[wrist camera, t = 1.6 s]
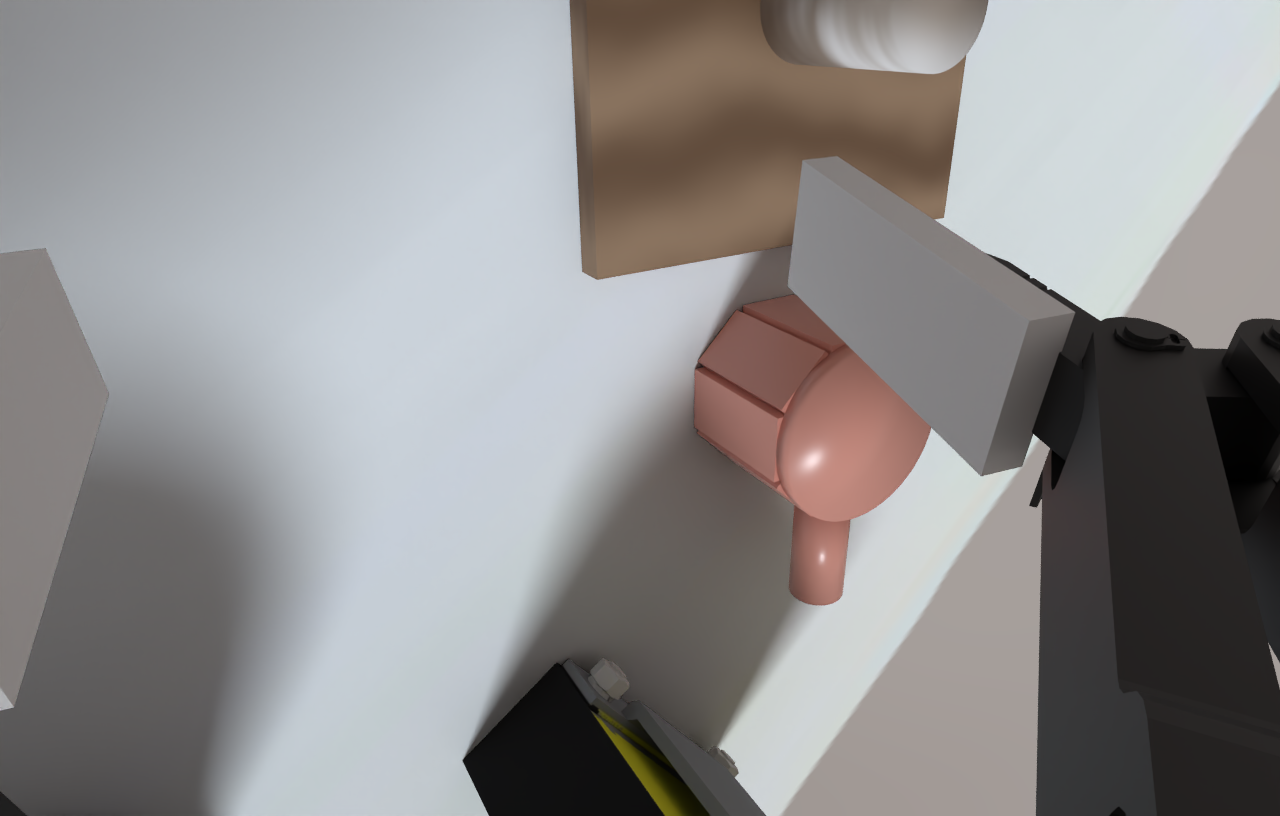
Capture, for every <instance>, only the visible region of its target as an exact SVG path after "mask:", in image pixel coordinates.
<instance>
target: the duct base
mask: <svg viewBox="0 0 1280 816" xmlns="http://www.w3.org/2000/svg"><path fill="white" fill-rule="evenodd" d="M987 5H988V0H570V17H571V39H572V60H573V81H574V103H575V124H576V146H577V167H578V189H579V210H580V232H581V253H582V272H584V273H586V274H587V275H589V276H591V277H593V278H595V279H597V280H598V279H604V278H610V277H615V276H621V275H626V274H632V273H638V272H643V271H649V270H654V269H660V268H665V267H671V266H677V265H682V264H688V263H693V262H699V261H705V260H710V259H716V258H721V257H727V256H733V255H738V254H744V253H749V252H755V251H761V250H766V249H772V248H777V247H783V246H788V245H792V244H793V236H794V227H795V219H796V211H797V202H798V194H799V185H800V177H801V169H802V160H809V159H817V158H826V157H834V156H838V157H839V158H841V159H842V160H844V161H845V162H847V163H848V164H850V165H851V166H853V167H854V168H856V169H857V170H859V171H861V172H862V173H864V174H865V175H867V176H868V177H870V178H871V179H873V180H874V181H876V182H877V183H879V184H880V185H882V186H883V187H885V188H886V189H888V190H890V191H891V192H893V193H894V194H896V195H897V196H899V197H900V198H902V199H903V200H905V201H906V202H908V203H909V204H911V205H912V206H914V207H915V208H917V209H919V210H920V211H922V212H923V213H925V214H926V215H928V216H929V217H931V218H932V219H939V218H944V213H945V206H946V198H947V191H948V184H949V176H950V169H951V162H952V155H953V147H954V140H955V133H956V125H957V118H958V111H959V103H960V96H961V89H962V82H963V74H964V67H965V60H966V54H967V53H968V52H969V50H970V49H971V47H972V46H973V44H974V42H975V40H976V39H977V37H978V34H979V32H980V30H981V27H982V25H983V22H984V18H985V15H986V11H987Z"/></svg>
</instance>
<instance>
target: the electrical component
mask: <svg viewBox="0 0 1280 816" xmlns="http://www.w3.org/2000/svg"><path fill="white" fill-rule="evenodd" d="M626 677H627V676H626V675H625V673H624V672H623V671H622V670H621V669H620V668H619V667H618V666H617V665H616V664H615V663H614V662H612V661H611V662H610V661H609V660H606V659H604V658H602V659H601V660H600V661H599V662H598V663H597V664H596V665H595V666H594V667H593V668H592V669H591V675H590V674H588V673H587V672H586V671H584V670H583V669H582V668H580V667H579V666H578V665H576V664H575V663H574V662H572V661H571V660H570V659H568V660H567V661H566V662H565V663H564V664H563V665H562V666H561V665H559V664H558V663H556V664H555V665H554V666H553V667H552V668H551V669H550V670H549V671H548V672H547V673H546V674H545V675H544V676H543V677H542V678H541V679H540V680H539V681H538V683H537V684H536V685H535V686H534V687H533V688H532V689H531V690H530V691H529V692H528V693H527V694H526V695H525V696H524V697H523V698H522V699H521V700H520V701H519V702H518V703H517V704H516V705H515V706H514V708H513V709H512V710H511V711H510V712H509V713H508V714H507V715H506V716H505V717H504V718H503V719H502V720H501V721H500V722H499V723H498V724H497V725H496V726H495V727H494V728H493V729H492V730H491V731H490V733H489V734H488V735H487V736H486V737H485V738H484V739H483V740H482V741H481V742H480V743H479V744H478V745H477V746H476V747H475V748H474V749H473V750H472V751H471V752H470V753H469V754H468V755H467V757H466V758H465V759H464V760H463V763H464V765H465V767H466V769H467V771H468V773H469V775H470V777H471V779H472V781H473V783H474V786H475V788H476V790H477V792H478V794H479V796H480V798H481V800H482V802H483V804H484V806H485V808H486V810H487V813H488V815H489V816H766V815H765V814H764V813H763V811H762V810H761V809H760V808H759V807H758V805H757V804H756V803H755V802H754V800H753V799H752V798H751V797H750V796H749V794H748V793H747V792H746V791H745V790H744V788H743V787H742V786H741V785H740V784H739V782H738V781H737V780H736V779H735V778H734V777H735V776H736V775H737V774H738V769H737V767H736V766H735V765H734V764H735V762H734V761H733V760H732V758H731V757H730V756H729V755H728V754H727V753H726V752H725V751H724V750H720V749H719V748H717V747H713V748H712V749H711V750H710V751H709V752H708V753H707V752H705V751H704V750H703V749H701V748H700V747H699V746H697V745H696V744H695V743H694V742H692V741H691V740H690V739H688V738H687V737H686V736H685V735H683V734H682V733H681V732H679V731H678V730H677V729H676V728H674V727H673V726H672V725H670V724H669V723H668V722H666V721H665V720H664V719H663V718H661V717H660V716H659V715H657V714H656V713H655V712H654V711H652V710H651V709H650V708H648V707H647V706H646V705H645V704H643V703H642V702H641V701H634V702H630V703H629V704H628V703H626V702H625V701H624V700H622V699H621V698H620V697H621V696H622V695H623V694H624V693H625V692H626V691H627V690H628V689H629V688H630V686H629V682H628V680H627V679H626Z"/></svg>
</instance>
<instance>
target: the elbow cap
mask: <svg viewBox="0 0 1280 816" xmlns="http://www.w3.org/2000/svg"><path fill="white" fill-rule="evenodd" d="M698 362H699V363H700V364H701V365H703V366H704V367H702V368H698V369H695V394H694V427H695V428H696V429H698V430H699V431H698V432H697V434H699V435H700V436H701V437H702V438H704V439H705V440H706V441H708V442H709V443H710V444H711V445H713V446H714V447H715V448H716V449H718V450H719V451H720V452H721V453H723V454H724V455H725V456H727V457H728V458H729V459H730V460H732V461H733V462H734V463H736V464H737V465H739V466H740V467H741V468H743V469H744V470H746V471H747V472H749V473H750V474H751V475H753V476H754V477H756V478H757V479H758V480H760V481H761V482H763V483H764V484H765V485H767V486H768V487H770V488H771V489H773V490H774V491H775V492H777V493H778V494H780V495H781V496H782V497H784V498H785V499H787V500H788V501H789V502H791V503H792V504H794V518H793V532H792V546H791V560H790V574H789V590H790V592H791V594H792V595H793V596H794V597H795V598H797V599H798V600H800V601H802V602H804V603H807V604H812V605H828V604H832V603H834V602H836V601H838V600H839V599H840V598H841V596H842V593H843V585H844V575H845V566H846V556H847V547H848V537H849V528H850V519H853V518H856V517H858V516H861V515H863V514H865V513H867V512H869V511H870V510H872V509H874V508H875V507H877V506H878V505H879V504H881V503H882V502H883V501H885V500H886V499H887V498H888V497H889V496H890V495H891V494H892V493H893V492H894V491H895V490H896V489H897V488H898V487H899V486H900V485H901V484H902V482H903V481H904V480H905V479H906V478H907V476H908V475H909V473H910V472H911V470H912V469H913V467H914V466H915V464H916V462H917V461H918V459H919V457H920V455H921V453H922V451H923V449H924V447H925V444H926V442H927V439H928V436H929V433H930V430H931V427H930V426H929V425H928V424H927V423H926V422H925V421H924V420H923V419H922V418H921V417H920V416H919V415H918V414H917V413H916V412H915V411H914V410H913V409H912V408H911V407H910V406H909V405H908V404H907V403H906V402H905V401H904V400H903V399H902V398H901V397H900V396H899V395H898V394H897V393H896V392H895V391H894V390H893V389H892V388H891V387H890V386H889V385H888V384H887V383H886V382H885V381H884V380H882V379H881V378H880V377H879V376H878V375H877V374H876V373H875V372H874V371H873V370H872V369H871V368H870V367H869V366H868V365H867V364H866V363H865V362H864V361H863V360H862V359H861V358H860V357H859V356H858V355H857V354H856V353H855V352H854V351H853V350H852V349H851V348H850V347H849V346H848V345H847V344H846V343H845V342H844V341H843V340H842V339H841V338H840V337H839V336H838V335H837V334H836V333H835V332H834V331H833V330H832V329H831V328H830V327H829V326H828V325H826V324H825V323H824V322H823V321H822V320H821V319H820V318H819V317H818V316H817V315H816V314H815V313H814V312H813V311H812V310H811V309H810V308H809V307H808V306H807V305H806V304H805V303H804V302H803V301H802V300H801V299H800V298H799V297H798V296H796V295H794V294H793V295H789V296H784V297H779V298H775V299H770V300H765V301H760V302H756V303H751V304H746V305H743V313H742V312H740V311H738V310H736V311H735V312H734V314H733V315H732V316H731V318H730V319H729V320H728V322H727V323H726V324H725V326H724V327H723V328H722V330H721V331H720V332H719V334H718V335H717V336H716V338H715V339H714V340H713V342H712V343H711V344H710V345H709V347H708V348H707V349H706V351H705V352H704V353H703V355H702V356H701V357H700V359H699V360H698Z"/></svg>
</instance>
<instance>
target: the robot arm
mask: <svg viewBox="0 0 1280 816" xmlns="http://www.w3.org/2000/svg"><path fill="white" fill-rule="evenodd" d="M788 287H789V288H790V289H791V290H792V291H793V292H794V293H795V294H796V295H797V296H798V297H799V298H800V299H801V300H802V301H803V302H804V303H805V304H806V305H807V306H808V307H809V308H810V309H811V310H812V311H813V312H814V313H815V314H816V315H817V316H818V317H819V318H820V319H821V320H822V321H823V322H824V323H825V324H826V325H828V326H829V327H830V328H831V329H832V330H833V331H834V332H835V333H836V334H837V335H838V336H839V337H840V338H841V339H842V340H843V341H844V342H845V343H846V344H847V345H848V346H849V347H850V348H851V349H852V350H853V351H854V352H855V353H856V354H857V355H858V356H859V357H860V358H861V359H862V360H863V361H864V362H865V363H866V364H867V365H868V366H869V367H870V368H871V369H872V370H873V371H874V372H875V373H876V374H877V375H878V376H879V377H880V378H881V379H882V380H884V381H885V382H886V383H887V384H888V385H889V386H890V387H891V388H892V389H893V390H894V391H895V392H896V393H897V394H898V395H899V396H900V397H901V398H902V399H903V400H904V401H905V402H906V403H907V404H908V405H909V406H910V407H911V408H912V409H913V410H914V411H915V412H916V413H917V414H918V415H919V416H920V417H921V418H922V419H923V420H924V421H925V422H926V423H927V424H928V425H929V426H930V427H931V428H932V429H933V430H934V431H935V432H936V433H937V434H938V435H940V436H941V437H942V438H943V439H944V440H945V441H946V442H947V443H948V444H949V445H950V446H951V447H952V448H953V449H954V450H955V451H956V452H957V453H958V454H959V455H960V456H961V457H962V458H963V459H964V460H965V461H966V462H967V463H968V464H969V465H970V466H971V467H972V468H973V469H974V470H975V471H976V472H977V473H978V474H979V475H980V476H984V475H988V474H992V473H996V472H1000V471H1005V470H1009V469H1013V468H1017V467H1021V466H1022V465H1023V462H1024V459H1025V456H1026V453H1027V450H1028V448H1029V445H1030V442H1031V439H1032V436H1033V434H1034V435H1035V436H1037V437H1038V438H1039V439H1040V440H1042V442H1044V443H1045V444H1046V445H1047V446H1048V447H1049V448H1050V451H1049V453H1048V456H1047V459H1046V461H1045V464H1044V467H1043V470H1042V472H1041V475H1040V478H1039V481H1038V484H1037V486H1036V489H1035V492H1034V494H1033V497H1032V500H1031V502H1030V506H1032V507H1037V506H1038V504H1039V502H1040V500H1041V499H1042V536H1041V587H1040V591H1041V592H1040V637H1039V638H1040V640H1039V641H1040V642H1039V689H1038V690H1039V691H1038V740H1037V788H1036V789H1037V791H1036V816H1280V689H1279V684H1278V681H1277V676H1276V672H1275V669H1274V665H1273V661H1272V657H1271V653H1270V649H1269V645H1270V646H1271V648H1272V650H1273V652H1274V653H1275V655H1276V657H1277V658H1278V660H1279V662H1280V320H1274V319H1251V320H1248V321H1245V322H1242V323H1241V324H1240V325H1239V327H1238V328H1237V330H1236V332H1235V334H1234V336H1233V338H1232V341H1231V343H1230V345H1229V347H1228V349H1196V348H1193V347H1192V345H1191V344H1190V342H1189V340H1188V339H1187V338H1185V337H1184V336H1182V335H1181V334H1179V333H1178V332H1177V331H1175V330H1173V329H1171V328H1168V327H1166V326H1164V325H1161V324H1159V323H1155V322H1151V321H1147V320H1143V319H1139V318H1128V317H1116V318H1107V319H1104V320H1102V321H1100V320H1098V319H1096V318H1095V317H1093V316H1092V315H1090V314H1089V313H1087V312H1086V311H1084V310H1083V309H1081V308H1079V307H1078V306H1076V305H1075V304H1073V303H1072V302H1070V301H1069V300H1067V299H1065V298H1064V297H1062V296H1061V295H1059V294H1058V293H1056V292H1055V291H1053V290H1052V289H1050V290H1047V286H1045V285H1044V284H1042V283H1041V282H1039V281H1038V280H1036V279H1035V278H1031V279H1030V275H1028V274H1027V273H1025V272H1024V271H1022V270H1021V269H1019V268H1018V267H1016V266H1014V265H1013V264H1011V263H1010V262H1008V261H1005V260H1003V259H1000V258H997V257H995V256H992V255H989V254H987V253H984V252H983V251H981V250H980V249H978V248H976V247H975V246H973V245H972V244H970V243H969V242H967V241H966V240H964V239H963V238H961V237H960V236H958V235H957V234H955V233H954V232H952V231H951V230H949V229H948V228H946V227H944V226H943V225H941V224H940V223H938V222H937V221H935V220H934V219H932V218H931V217H929V216H928V215H926V214H925V213H923V212H922V211H920V210H919V209H917V208H915V207H914V206H912V205H911V204H909V203H908V202H906V201H905V200H903V199H902V198H900V197H899V196H897V195H896V194H894V193H893V192H891V191H890V190H888V189H886V188H885V187H883V186H882V185H880V184H879V183H877V182H876V181H874V180H873V179H871V178H870V177H868V176H867V175H865V174H864V173H862V172H861V171H859V170H857V169H856V168H854V167H853V166H851V165H850V164H848V163H847V162H845V161H844V160H842V159H841V158H839V157H838V156H834V157H826V158H817V159H809V160H802V169H801V177H800V185H799V194H798V202H797V211H796V219H795V227H794V236H793V244H792V253H791V261H790V269H789V278H788ZM108 396H109V392H108V390H107V388H106V386H105V383H104V381H103V379H102V376H101V374H100V372H99V369H98V367H97V365H96V363H95V360H94V358H93V356H92V353H91V351H90V349H89V347H88V344H87V342H86V340H85V337H84V335H83V333H82V331H81V328H80V326H79V324H78V321H77V319H76V317H75V314H74V312H73V310H72V308H71V305H70V303H69V301H68V298H67V296H66V294H65V292H64V289H63V287H62V285H61V282H60V280H59V278H58V276H57V273H56V271H55V269H54V266H53V264H52V262H51V259H50V257H49V255H48V253H47V250H46V248H44V249H35V250H27V251H18V252H10V253H1V254H0V711H1V710H5V709H10V708H14V706H15V703H16V700H17V696H18V693H19V690H20V686H21V683H22V680H23V676H24V673H25V670H26V667H27V663H28V660H29V657H30V653H31V650H32V647H33V643H34V640H35V637H36V634H37V630H38V627H39V624H40V620H41V617H42V614H43V610H44V607H45V604H46V601H47V597H48V594H49V591H50V587H51V584H52V581H53V577H54V574H55V571H56V568H57V564H58V561H59V558H60V554H61V551H62V548H63V544H64V541H65V538H66V535H67V531H68V528H69V525H70V521H71V518H72V515H73V511H74V508H75V505H76V502H77V498H78V495H79V492H80V488H81V485H82V482H83V478H84V475H85V472H86V469H87V465H88V462H89V459H90V455H91V452H92V449H93V445H94V442H95V439H96V436H97V432H98V429H99V426H100V422H101V419H102V416H103V412H104V409H105V406H106V403H107V399H108ZM1268 643H1269V645H1268ZM0 816H26V815H25V814H24V813H23V812H22V811H21V810H20V809H19V808H18V807H17V806H16V805H14V804H13V803H12V802H11V801H10V800H9V799H8V798H7V797H6V796H5V795H4V794H2V793H1V792H0Z"/></svg>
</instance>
